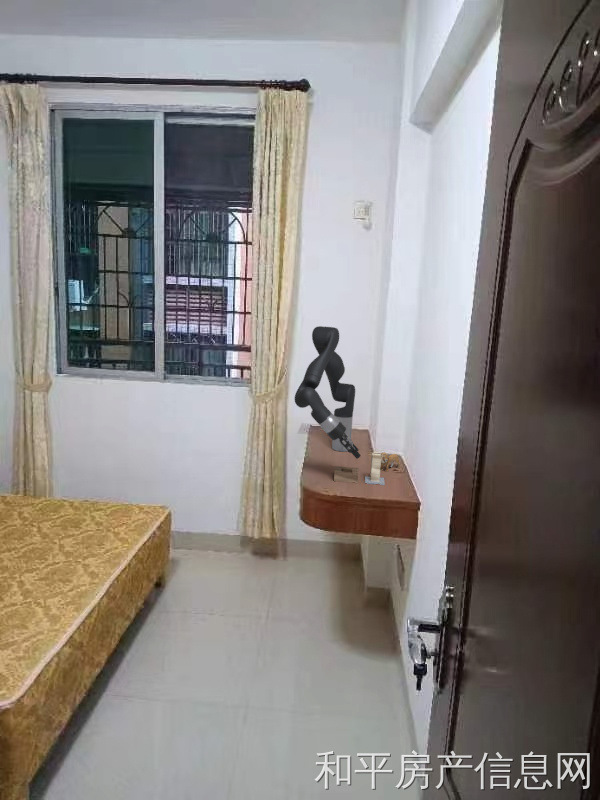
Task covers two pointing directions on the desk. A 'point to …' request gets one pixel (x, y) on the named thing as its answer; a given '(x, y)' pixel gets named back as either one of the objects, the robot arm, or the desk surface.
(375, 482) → the slate mat
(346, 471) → the socket block
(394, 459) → the lion figurine
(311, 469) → the desk surface
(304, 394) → the robot arm
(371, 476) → the birch peg
